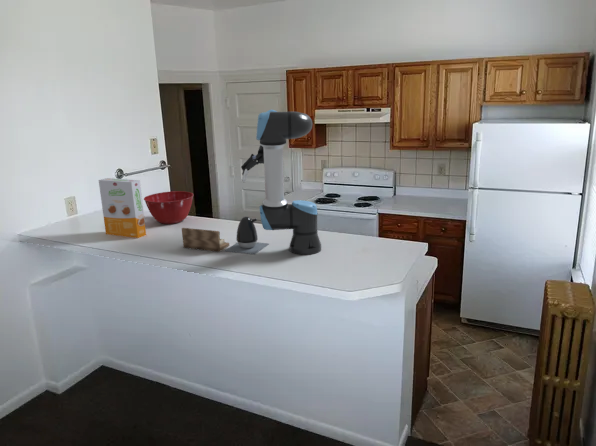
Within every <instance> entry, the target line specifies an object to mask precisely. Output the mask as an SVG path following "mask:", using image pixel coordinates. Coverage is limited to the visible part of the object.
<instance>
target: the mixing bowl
mask: <svg viewBox="0 0 596 446" xmlns="http://www.w3.org/2000/svg"><path fill="white" fill-rule="evenodd" d="M193 197H194V193H193V192H190V191H183V190H182V191H181V190H177V191H176V190H174V191H173V190H172V191H162V192H158V193H157V192H155V193H152V194H149V195H147V196H146V195H145V197H144V198H143V200H144V202H145V205H146V207H147V209H148V211H149V213H150V214H151V216H152V218H153V219H154V220H156V221H157V222H158V223H160V224H163V225H173V224H178V223H179V224H180V223H181V222H183V221H184V220H185V219H187V217H188V215H189V213H190V210H191V207H192V204H193Z"/></svg>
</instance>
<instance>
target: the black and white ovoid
mask: <svg viewBox="0 0 596 446" xmlns="http://www.w3.org/2000/svg"><path fill="white" fill-rule="evenodd" d="M256 221H258V220H257V218H253V219H252V218H251V217H249V216H243V217H242V218H241V219H240V220H239V223H238V226H237V230H236V238H235V239H236V243H237V242H238V244H239V246H240V247H242V248H252V247H254V246H255V245H256V243H257V242H258V233H257V229H256V226H255V223H254V222H256Z"/></svg>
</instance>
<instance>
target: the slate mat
mask: <svg viewBox="0 0 596 446" xmlns="http://www.w3.org/2000/svg"><path fill="white" fill-rule="evenodd" d="M269 245H270V243H267V242H258V241H257V243H256V245H255V246H254V247H252V248H242V247H240V246H239V244H238V242H237V241H236V243H234V244H233V245H231V246H228V247H227V248H225V249H224V252H230V253H239V254H247V255H248V254H249V255H256V254H257V253H259V252H261V251H262V250H263V249H265V248H266V247H267V246H269Z"/></svg>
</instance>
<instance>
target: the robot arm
mask: <svg viewBox="0 0 596 446" xmlns="http://www.w3.org/2000/svg"><path fill="white" fill-rule="evenodd" d="M256 124H257V125H256V140H257V141H259V147H258V150H257V154H254V153H251V155H250V156H249V158H248V159H247V160H246V161H245V162H244V163H243V164H242V165H241V167H240V168H241V170H242V173H241V174H242V177H241V181H242V182H243V183H246V180H247V178H248V175H249V171H250V170H251V169H252V168H254V167H255V166H256V165H259V164H260V165H261V164H263V168H264V190H265V191H264V194H265V195H264V196H265V199H263V200H262V203H261V205H260V206H259V215H260V222H261V225H262V229H263V230H265V231H282V230H292V236H291V240H290V243H289V251H290V252H291V253H293V254H297V255H314V254H316V253H319V252H321V251H322V242H321V240H320V237H319V233H318V206H317V204H316V203H315V202H312V201H308V200H304V199H303V200H300V199H298V200H292V201H291V204H290V203H288V200H287V199H286V198H285V185H284V183H285V179H284V172H285V171H284V147H285V146H286V145H287V140H295V139H300V138H302V137H304V136H306V135H308V134H309V133H310V132H311V131H312V129H313V120H312V118H311V117H310V115H308V114H307V113H304V112H299V111H292V110H291V111H277V110H274V109H269V110H266V112H265V111H263V112H260V113H258V117H257V123H256Z"/></svg>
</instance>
